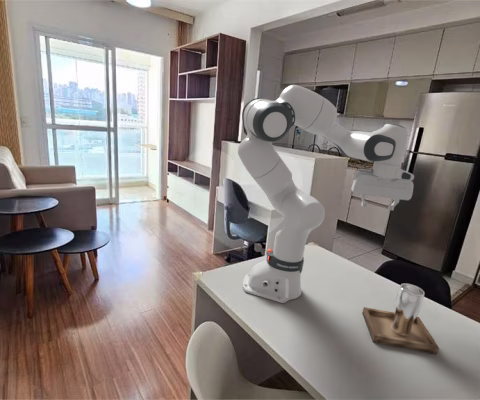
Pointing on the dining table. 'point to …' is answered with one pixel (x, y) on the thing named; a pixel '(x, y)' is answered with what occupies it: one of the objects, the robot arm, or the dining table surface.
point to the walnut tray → (383, 334)
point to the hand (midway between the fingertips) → (377, 208)
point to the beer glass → (406, 308)
